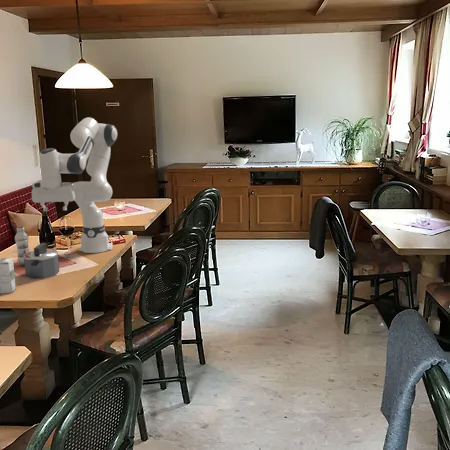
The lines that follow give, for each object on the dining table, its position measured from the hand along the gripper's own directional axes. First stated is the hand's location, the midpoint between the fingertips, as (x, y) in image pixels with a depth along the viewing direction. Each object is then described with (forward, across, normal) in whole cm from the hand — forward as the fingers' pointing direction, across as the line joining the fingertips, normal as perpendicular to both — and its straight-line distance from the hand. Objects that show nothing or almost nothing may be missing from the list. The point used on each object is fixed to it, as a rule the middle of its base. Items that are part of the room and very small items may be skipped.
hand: (55, 210), depth 248 cm
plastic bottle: (+30, +22, -7) cm, 38 cm away
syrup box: (+29, +14, +33) cm, 46 cm away
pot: (+29, +7, +9) cm, 31 cm away
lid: (+22, +7, +8) cm, 24 cm away
